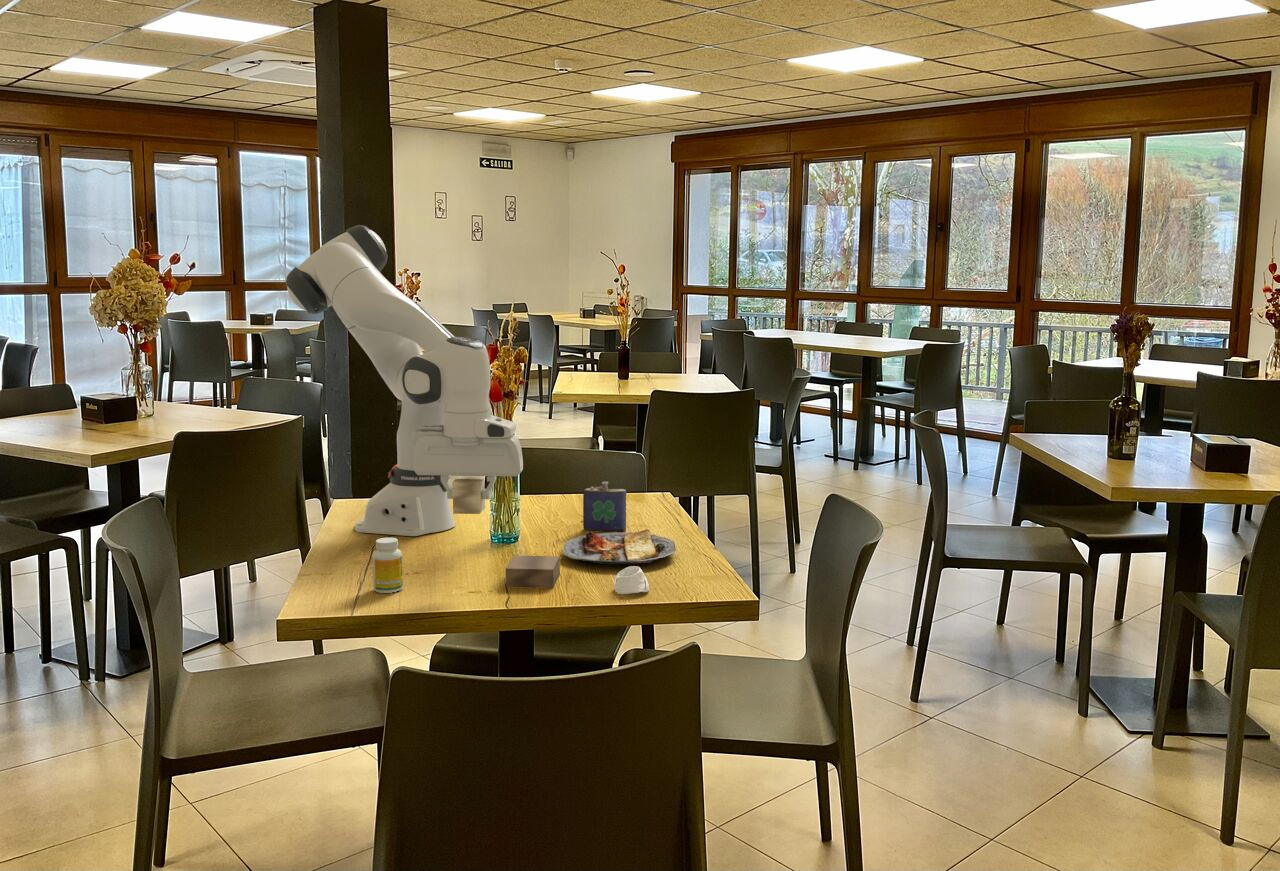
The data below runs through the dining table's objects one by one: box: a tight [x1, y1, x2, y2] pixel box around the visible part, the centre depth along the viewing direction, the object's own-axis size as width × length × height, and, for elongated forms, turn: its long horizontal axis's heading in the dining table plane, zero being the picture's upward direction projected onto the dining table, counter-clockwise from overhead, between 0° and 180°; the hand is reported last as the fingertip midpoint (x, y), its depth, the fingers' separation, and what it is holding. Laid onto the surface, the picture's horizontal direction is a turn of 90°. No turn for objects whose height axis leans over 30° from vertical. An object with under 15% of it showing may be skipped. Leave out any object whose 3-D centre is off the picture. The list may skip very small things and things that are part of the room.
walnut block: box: [505, 554, 561, 589], centre depth 205 cm, size 9×9×4 cm
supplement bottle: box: [372, 537, 404, 594], centre depth 198 cm, size 5×5×10 cm
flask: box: [582, 481, 627, 533], centre depth 243 cm, size 10×3×12 cm, turn 88°
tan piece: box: [451, 476, 486, 515], centre depth 199 cm, size 5×5×6 cm
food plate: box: [562, 529, 676, 565], centre depth 223 cm, size 25×23×4 cm
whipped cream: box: [613, 565, 650, 595], centre depth 199 cm, size 8×7×5 cm
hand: (469, 498), depth 199 cm, fingers closed on tan piece, 5 cm apart
